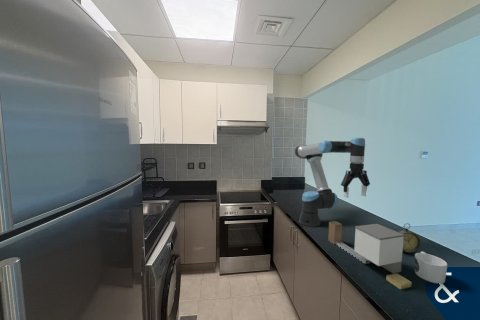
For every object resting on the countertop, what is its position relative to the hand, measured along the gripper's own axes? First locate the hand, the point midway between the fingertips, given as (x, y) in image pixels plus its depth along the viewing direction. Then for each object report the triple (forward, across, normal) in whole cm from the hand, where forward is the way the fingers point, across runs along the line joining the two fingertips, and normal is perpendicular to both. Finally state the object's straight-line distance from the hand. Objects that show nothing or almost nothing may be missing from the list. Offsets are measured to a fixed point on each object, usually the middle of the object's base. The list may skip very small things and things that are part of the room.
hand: (354, 196), depth 124 cm
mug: (+27, +4, -38) cm, 47 cm away
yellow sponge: (+27, -15, -39) cm, 50 cm away
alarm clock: (+27, +15, -21) cm, 37 cm away
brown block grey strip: (+27, -16, -12) cm, 33 cm away
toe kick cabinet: (+27, -13, -27) cm, 40 cm away
